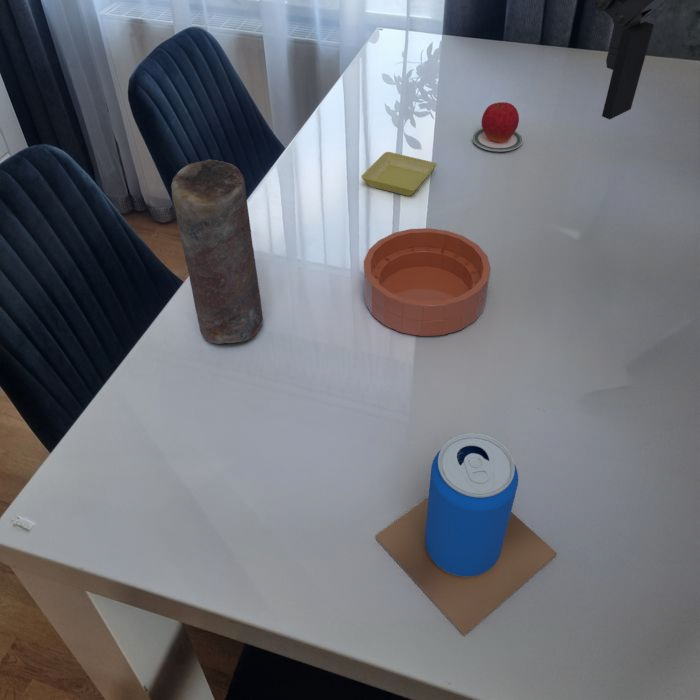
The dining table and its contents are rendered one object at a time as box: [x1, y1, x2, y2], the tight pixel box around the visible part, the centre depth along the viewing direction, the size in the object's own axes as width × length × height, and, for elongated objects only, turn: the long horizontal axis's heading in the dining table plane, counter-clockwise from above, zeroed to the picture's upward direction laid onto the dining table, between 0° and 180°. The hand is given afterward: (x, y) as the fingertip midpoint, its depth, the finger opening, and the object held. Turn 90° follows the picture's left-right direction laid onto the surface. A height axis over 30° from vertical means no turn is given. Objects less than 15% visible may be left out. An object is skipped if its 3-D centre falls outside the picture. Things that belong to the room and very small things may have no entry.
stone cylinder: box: [170, 158, 264, 345], centre depth 73 cm, size 8×7×20 cm
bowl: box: [363, 227, 491, 337], centre depth 81 cm, size 15×15×5 cm
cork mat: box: [375, 496, 558, 637], centre depth 59 cm, size 11×11×1 cm
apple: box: [471, 101, 524, 153], centre depth 107 cm, size 8×8×6 cm
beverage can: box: [425, 432, 519, 577], centre depth 54 cm, size 6×6×12 cm
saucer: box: [360, 151, 438, 197], centre depth 101 cm, size 9×9×2 cm
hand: (693, 144), depth 50 cm, fingers open, 13 cm apart
